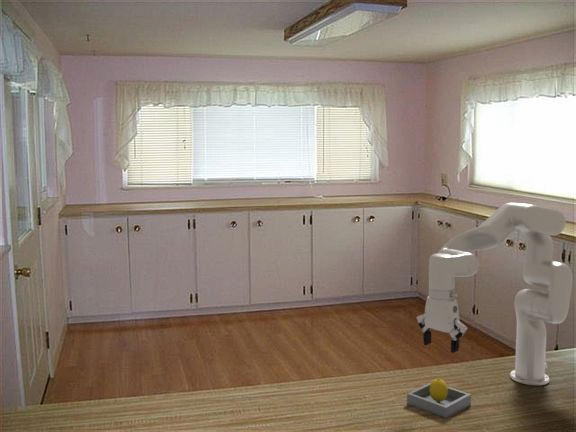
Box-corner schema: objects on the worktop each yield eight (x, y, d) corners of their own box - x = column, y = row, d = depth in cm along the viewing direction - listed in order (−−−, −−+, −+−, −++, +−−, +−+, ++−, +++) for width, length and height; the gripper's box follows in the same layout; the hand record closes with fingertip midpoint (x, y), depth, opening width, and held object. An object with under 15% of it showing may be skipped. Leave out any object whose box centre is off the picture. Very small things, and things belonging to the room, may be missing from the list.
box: (432, 391, 192) (432, 381, 191) (470, 405, 181) (470, 394, 181) (406, 404, 182) (407, 393, 182) (445, 419, 172) (446, 407, 172)
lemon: (448, 407, 179) (448, 382, 178) (429, 405, 180) (429, 380, 179) (447, 399, 184) (447, 375, 183) (429, 398, 185) (429, 374, 185)
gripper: (473, 296, 174) (472, 351, 176) (424, 287, 187) (424, 338, 189) (460, 301, 169) (459, 357, 171) (410, 291, 182) (410, 344, 184)
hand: (440, 347), depth 180 cm, fingers open, 9 cm apart
